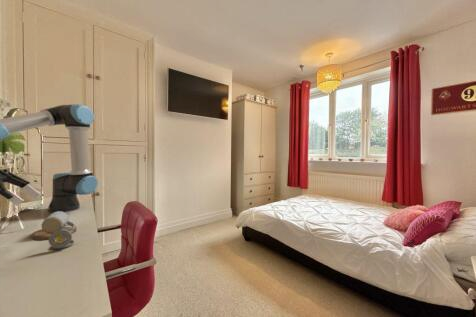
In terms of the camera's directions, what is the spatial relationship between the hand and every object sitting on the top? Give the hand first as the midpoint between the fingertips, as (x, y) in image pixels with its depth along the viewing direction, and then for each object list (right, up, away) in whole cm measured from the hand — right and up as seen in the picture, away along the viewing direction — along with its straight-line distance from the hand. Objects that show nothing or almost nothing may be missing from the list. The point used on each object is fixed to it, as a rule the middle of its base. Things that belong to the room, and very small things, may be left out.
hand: (29, 199), depth 85 cm
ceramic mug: (+9, -15, +4) cm, 18 cm away
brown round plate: (+7, -16, +4) cm, 18 cm away
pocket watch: (+21, -17, -9) cm, 29 cm away
